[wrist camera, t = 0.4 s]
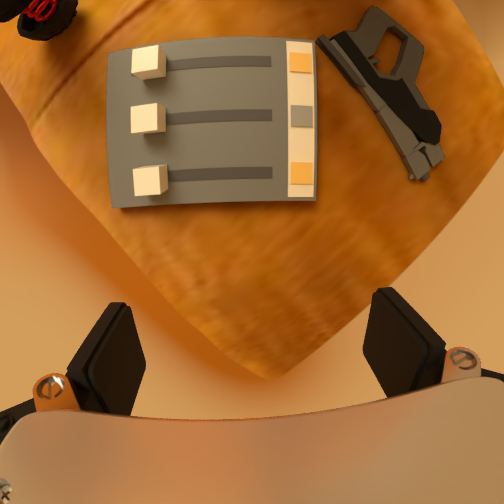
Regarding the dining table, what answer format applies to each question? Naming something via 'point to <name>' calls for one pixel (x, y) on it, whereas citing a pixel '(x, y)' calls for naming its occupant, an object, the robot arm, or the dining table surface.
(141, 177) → the knob
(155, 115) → the knob
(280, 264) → the dining table surface
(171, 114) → the switch board
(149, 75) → the knob
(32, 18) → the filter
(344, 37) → the pistol
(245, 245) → the dining table surface
